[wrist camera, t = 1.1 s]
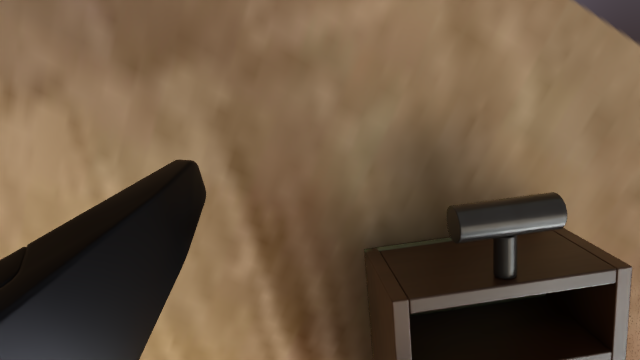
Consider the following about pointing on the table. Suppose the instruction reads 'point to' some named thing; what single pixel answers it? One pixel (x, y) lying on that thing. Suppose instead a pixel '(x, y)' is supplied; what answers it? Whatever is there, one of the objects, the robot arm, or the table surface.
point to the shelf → (499, 289)
